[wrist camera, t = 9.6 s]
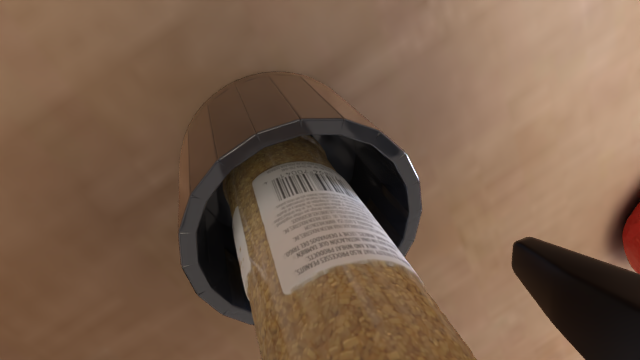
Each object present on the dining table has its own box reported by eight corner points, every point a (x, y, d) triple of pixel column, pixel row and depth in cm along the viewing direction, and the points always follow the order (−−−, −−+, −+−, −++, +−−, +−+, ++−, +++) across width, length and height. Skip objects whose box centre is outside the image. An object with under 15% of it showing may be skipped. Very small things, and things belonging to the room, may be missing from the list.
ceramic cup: (218, 258, 18) (231, 357, 14) (146, 105, 14) (128, 173, 10) (370, 203, 20) (428, 277, 15) (343, 47, 15) (412, 82, 11)
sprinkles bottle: (205, 205, 16) (258, 758, 5) (246, 105, 15) (453, 567, 3) (302, 228, 18) (493, 656, 7) (346, 143, 17) (678, 510, 6)
